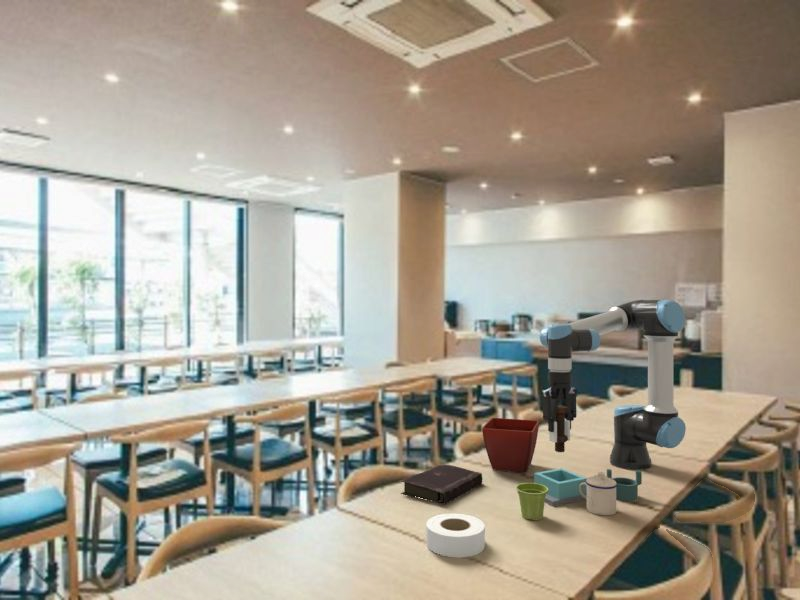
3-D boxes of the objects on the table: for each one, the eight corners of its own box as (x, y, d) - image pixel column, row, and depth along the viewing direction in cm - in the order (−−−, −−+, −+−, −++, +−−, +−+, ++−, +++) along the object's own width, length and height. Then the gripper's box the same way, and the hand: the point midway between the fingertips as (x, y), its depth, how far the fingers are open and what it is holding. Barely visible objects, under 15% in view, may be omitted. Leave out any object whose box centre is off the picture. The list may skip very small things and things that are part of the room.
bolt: (549, 449, 185) (549, 404, 185) (563, 449, 186) (563, 404, 186) (555, 454, 179) (555, 408, 179) (570, 453, 180) (570, 408, 180)
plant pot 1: (481, 471, 208) (481, 427, 208) (492, 458, 226) (492, 417, 226) (532, 477, 201) (532, 431, 201) (539, 463, 218) (539, 420, 218)
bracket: (644, 498, 180) (643, 470, 180) (625, 503, 175) (625, 475, 175) (620, 490, 187) (620, 464, 187) (602, 495, 183) (602, 468, 183)
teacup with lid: (622, 511, 169) (622, 473, 169) (607, 518, 163) (607, 479, 163) (587, 500, 178) (587, 464, 178) (571, 507, 172) (571, 470, 172)
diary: (483, 486, 194) (483, 472, 194) (445, 508, 174) (445, 492, 174) (438, 475, 205) (439, 462, 205) (398, 494, 185) (398, 479, 185)
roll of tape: (447, 527, 158) (446, 508, 158) (495, 542, 148) (495, 521, 148) (413, 546, 146) (413, 525, 146) (464, 564, 136) (464, 542, 136)
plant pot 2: (530, 525, 159) (530, 495, 159) (509, 514, 167) (509, 485, 167) (555, 519, 163) (554, 490, 163) (533, 508, 171) (533, 480, 171)
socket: (567, 485, 192) (567, 466, 192) (595, 497, 181) (595, 477, 181) (526, 493, 185) (526, 474, 185) (552, 506, 173) (552, 485, 173)
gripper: (572, 367, 190) (572, 435, 190) (530, 370, 182) (530, 440, 182) (588, 370, 183) (588, 440, 183) (546, 373, 175) (546, 446, 175)
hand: (559, 440), depth 182 cm, fingers closed on bolt, 5 cm apart
